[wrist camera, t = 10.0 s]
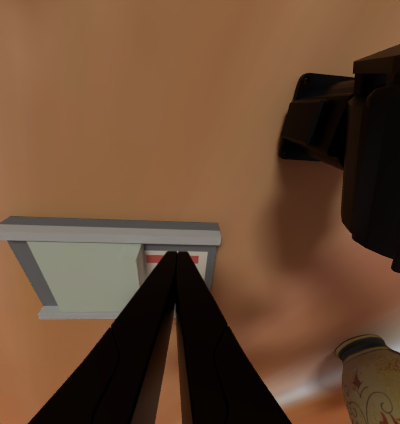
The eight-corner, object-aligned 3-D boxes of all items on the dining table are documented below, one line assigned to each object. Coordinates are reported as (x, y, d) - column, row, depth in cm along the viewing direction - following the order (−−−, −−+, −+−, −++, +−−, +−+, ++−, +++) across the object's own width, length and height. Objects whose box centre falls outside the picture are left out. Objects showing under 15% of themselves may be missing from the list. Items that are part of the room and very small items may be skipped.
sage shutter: (142, 239, 20) (136, 259, 17) (149, 305, 25) (145, 328, 23) (32, 236, 19) (7, 257, 16) (64, 305, 25) (50, 329, 22)
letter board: (217, 223, 21) (221, 237, 19) (206, 300, 28) (208, 317, 26) (10, 216, 19) (-14, 231, 17) (53, 300, 26) (39, 319, 24)
